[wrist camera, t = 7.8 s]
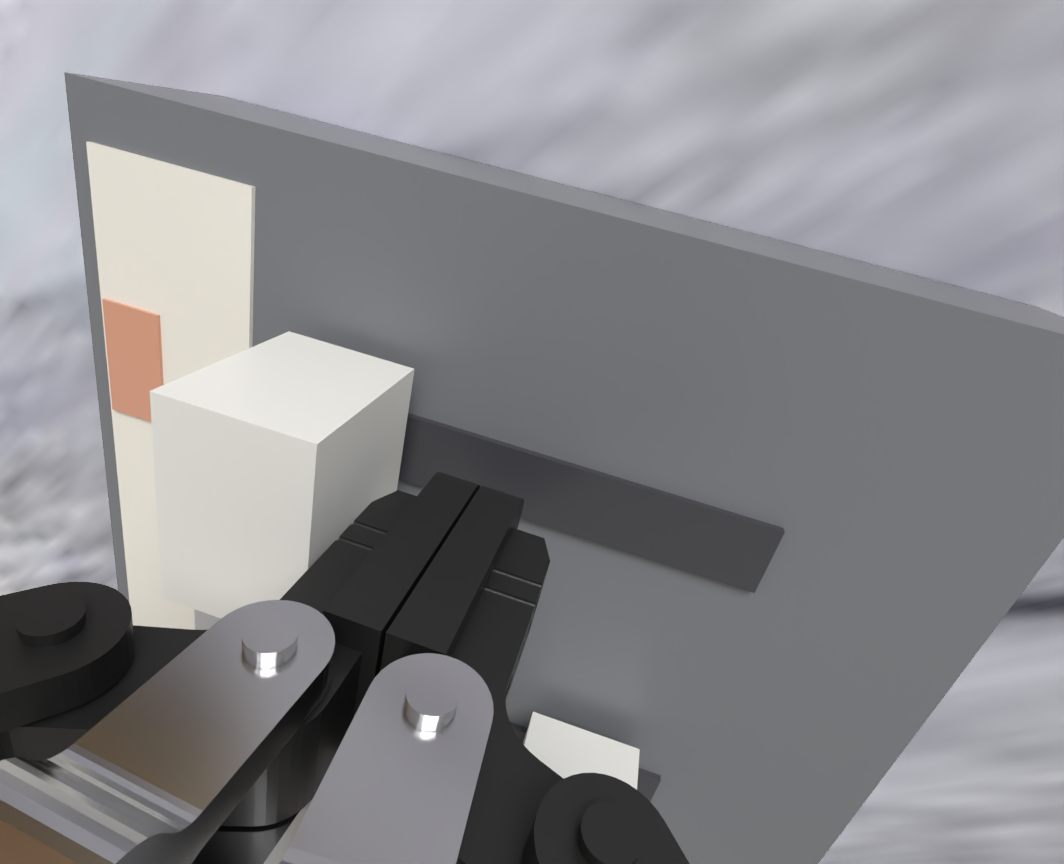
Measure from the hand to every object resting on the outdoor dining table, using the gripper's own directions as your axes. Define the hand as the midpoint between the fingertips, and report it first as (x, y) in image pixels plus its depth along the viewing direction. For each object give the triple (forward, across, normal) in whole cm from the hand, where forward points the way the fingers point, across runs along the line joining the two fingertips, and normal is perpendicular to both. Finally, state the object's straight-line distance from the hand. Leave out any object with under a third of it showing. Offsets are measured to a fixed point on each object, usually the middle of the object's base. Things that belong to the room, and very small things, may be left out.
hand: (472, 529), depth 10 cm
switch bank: (+6, 0, +7) cm, 9 cm away
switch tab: (+1, +3, 0) cm, 3 cm away
